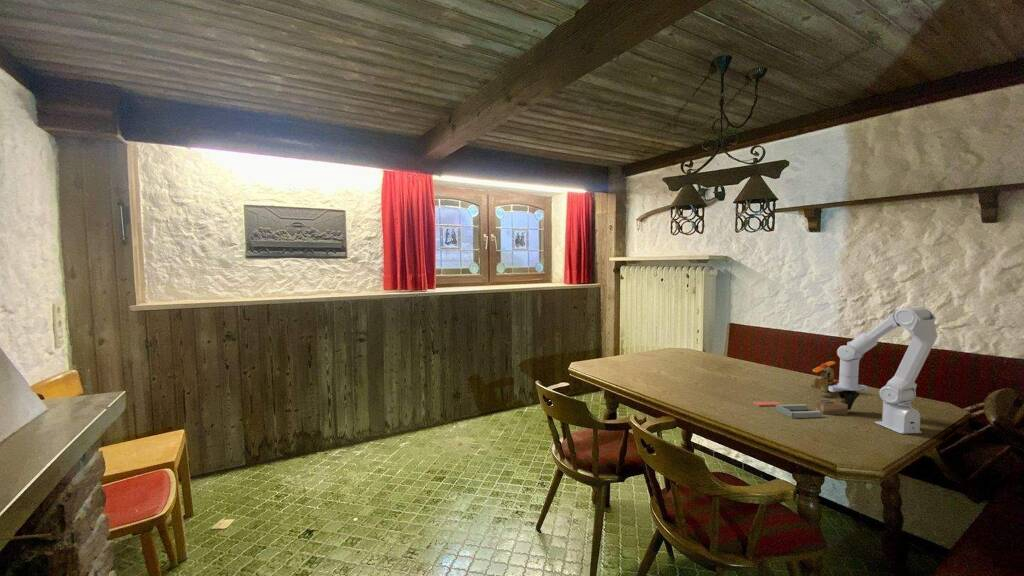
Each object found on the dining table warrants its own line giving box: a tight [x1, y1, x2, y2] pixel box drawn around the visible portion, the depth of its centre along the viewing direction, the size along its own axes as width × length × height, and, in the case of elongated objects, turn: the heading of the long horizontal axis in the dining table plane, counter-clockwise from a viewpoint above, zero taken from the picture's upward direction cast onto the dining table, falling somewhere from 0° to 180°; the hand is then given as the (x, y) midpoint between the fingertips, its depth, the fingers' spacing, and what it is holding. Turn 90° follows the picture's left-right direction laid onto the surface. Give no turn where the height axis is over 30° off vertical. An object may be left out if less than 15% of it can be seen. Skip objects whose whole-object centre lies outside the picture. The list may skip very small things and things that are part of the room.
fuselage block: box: [815, 397, 848, 415], centre depth 158 cm, size 4×9×6 cm, turn 86°
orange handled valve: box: [809, 360, 839, 393], centre depth 181 cm, size 8×21×14 cm, turn 123°
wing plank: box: [752, 400, 783, 407], centre depth 167 cm, size 10×4×1 cm, turn 91°
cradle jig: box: [775, 403, 823, 419], centre depth 157 cm, size 8×12×2 cm
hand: (846, 408), depth 159 cm, fingers closed
